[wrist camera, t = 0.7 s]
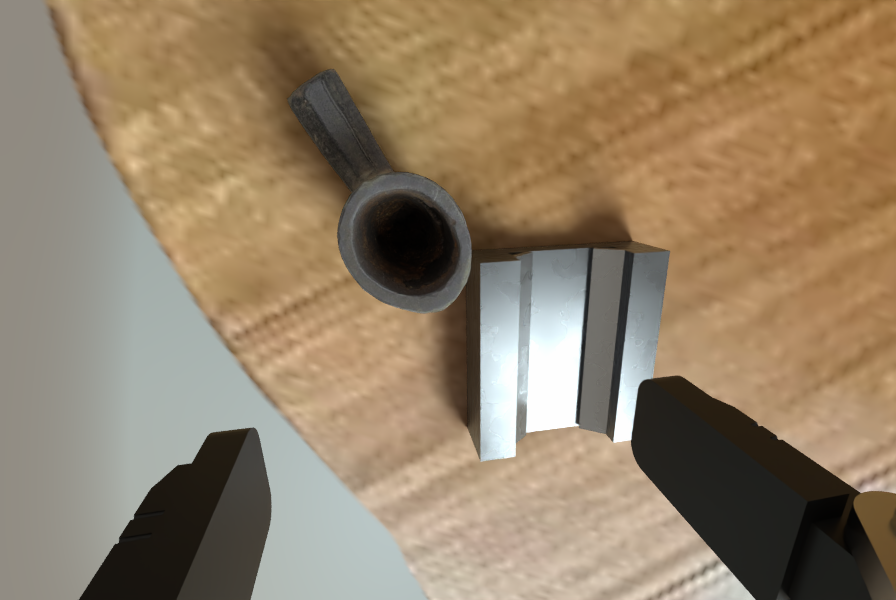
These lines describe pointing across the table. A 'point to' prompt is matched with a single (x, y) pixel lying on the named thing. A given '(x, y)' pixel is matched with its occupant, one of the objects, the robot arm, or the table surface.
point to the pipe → (385, 208)
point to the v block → (560, 339)
